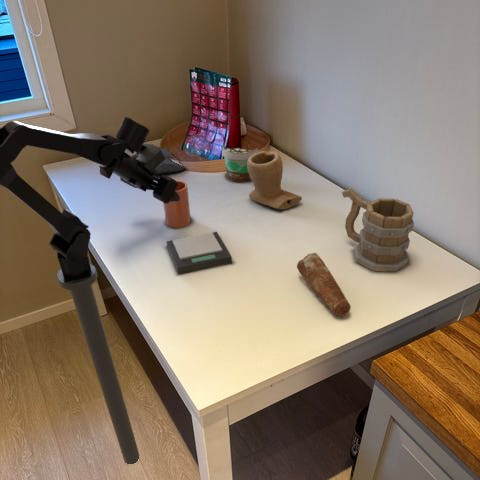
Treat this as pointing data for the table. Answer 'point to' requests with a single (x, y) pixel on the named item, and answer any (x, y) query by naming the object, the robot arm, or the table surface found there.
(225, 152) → the food container
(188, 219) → the tumbler
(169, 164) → the dark slate chunk
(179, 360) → the table surface
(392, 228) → the tankard
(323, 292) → the brown tapered rod
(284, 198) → the clay pipe bowl
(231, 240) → the table surface
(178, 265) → the kitchen scale
